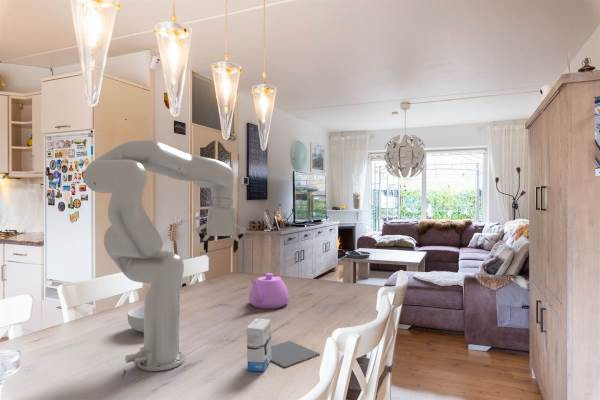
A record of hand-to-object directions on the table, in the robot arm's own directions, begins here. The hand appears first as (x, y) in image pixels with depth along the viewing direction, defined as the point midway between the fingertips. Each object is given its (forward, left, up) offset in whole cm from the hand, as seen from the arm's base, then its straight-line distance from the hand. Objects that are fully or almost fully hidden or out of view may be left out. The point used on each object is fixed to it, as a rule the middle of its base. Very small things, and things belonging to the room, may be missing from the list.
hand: (220, 252), depth 136 cm
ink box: (-6, -31, -28) cm, 42 cm away
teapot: (+34, +17, -28) cm, 48 cm away
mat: (+5, -30, -28) cm, 41 cm away
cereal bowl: (-17, +17, -28) cm, 37 cm away
